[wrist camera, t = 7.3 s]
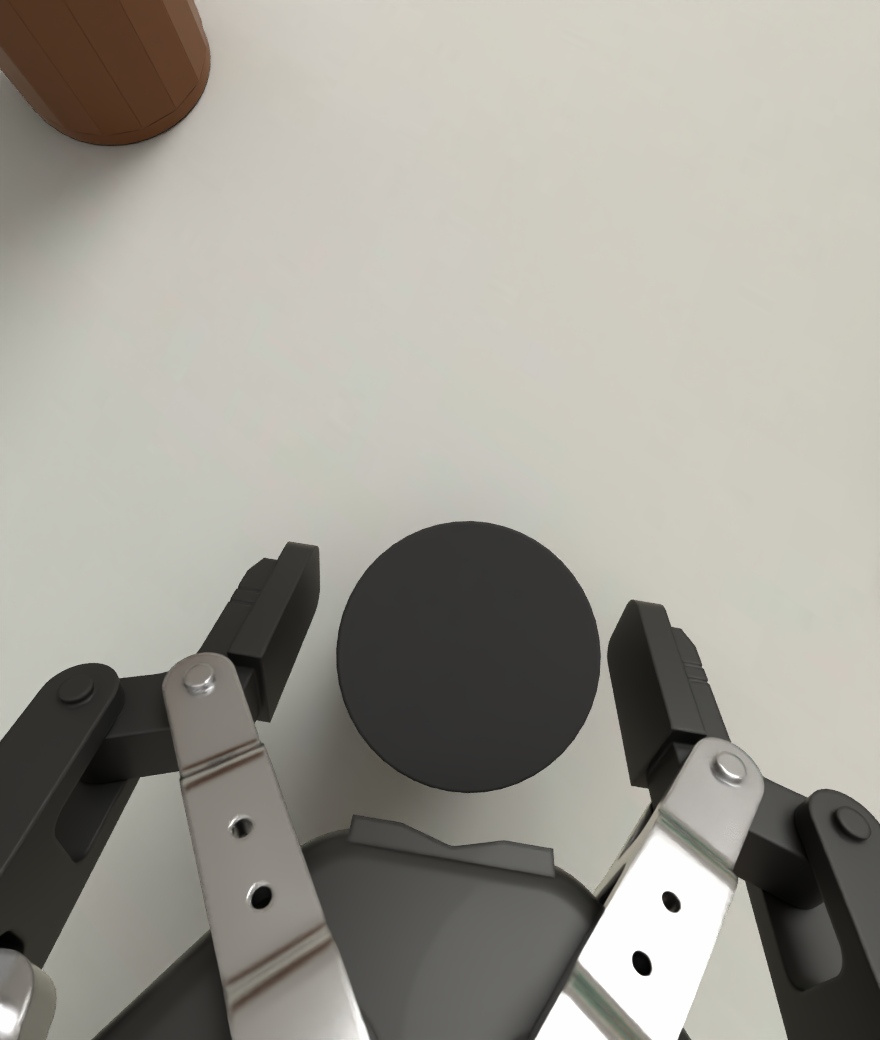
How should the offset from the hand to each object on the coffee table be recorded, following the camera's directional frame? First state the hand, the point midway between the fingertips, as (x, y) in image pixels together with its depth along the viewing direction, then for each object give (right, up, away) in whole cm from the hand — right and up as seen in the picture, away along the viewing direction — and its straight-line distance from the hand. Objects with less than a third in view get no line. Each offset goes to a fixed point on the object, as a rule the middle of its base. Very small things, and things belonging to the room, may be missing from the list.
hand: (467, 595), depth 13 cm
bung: (0, -2, +5) cm, 5 cm away
